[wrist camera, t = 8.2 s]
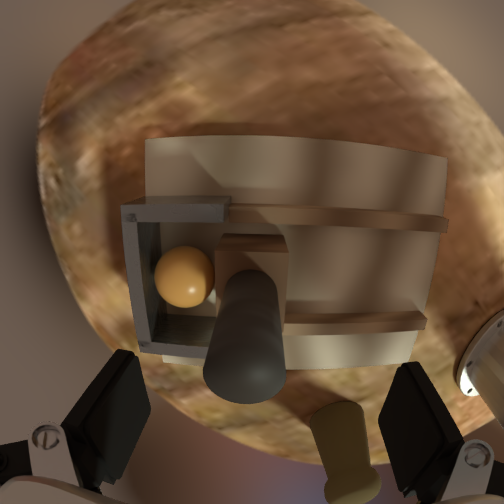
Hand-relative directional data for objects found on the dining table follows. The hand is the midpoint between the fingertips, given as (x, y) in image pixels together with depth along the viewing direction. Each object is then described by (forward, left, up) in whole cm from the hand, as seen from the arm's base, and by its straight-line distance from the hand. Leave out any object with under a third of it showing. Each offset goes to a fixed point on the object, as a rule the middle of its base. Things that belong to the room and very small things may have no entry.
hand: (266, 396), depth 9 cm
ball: (+5, 0, -10) cm, 11 cm away
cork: (-9, +18, -14) cm, 24 cm away
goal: (+5, 0, -12) cm, 13 cm away
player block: (+1, 0, -12) cm, 12 cm away
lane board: (-3, 0, -13) cm, 14 cm away
